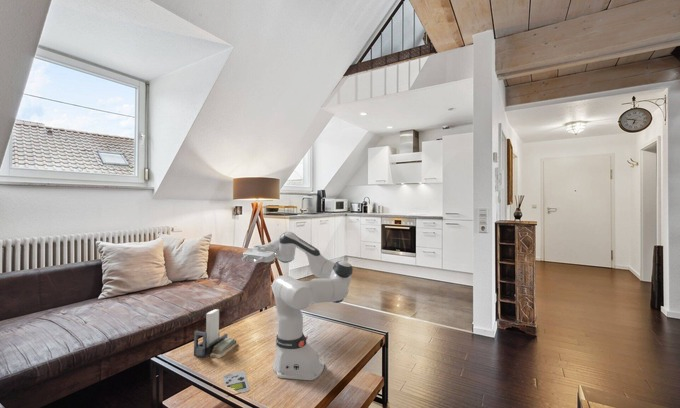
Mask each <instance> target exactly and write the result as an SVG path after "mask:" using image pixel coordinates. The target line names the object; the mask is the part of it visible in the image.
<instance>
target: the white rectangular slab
mask: <svg viewBox="0 0 680 408" xmlns="http://www.w3.org/2000/svg"><path fill="white" fill-rule="evenodd" d="M205 317H206V318H205V319H206V320H205V321H206V322H205V326H206V327H205V328H206V329H205V332H207V345H209V344H211V343H212V342H214V341H215V340H217V339H218V338H220V329H219V328H220V309H218V308H217V309H215V308H214V309H213V310H210V311H208V312H207V313H206V315H205Z"/></svg>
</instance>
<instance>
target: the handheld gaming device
mask: <svg viewBox="0 0 680 408" xmlns="http://www.w3.org/2000/svg"><path fill="white" fill-rule="evenodd" d="M222 382H223V385H224V384H225V385H226V386H227V387H231V388H235V389H234V390H235V391H238V392H239V391H240V392H241V393H240V394H243V393H247V392H249V391H250V386H249V382H248V379H247V375H246V373H245V370H238V371H235V372H228V373H226V374H223V375H222Z"/></svg>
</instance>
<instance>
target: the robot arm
mask: <svg viewBox="0 0 680 408" xmlns="http://www.w3.org/2000/svg"><path fill="white" fill-rule="evenodd" d="M296 248H297V249H298V250H299V251H302V252H303V253H304V254H305V255H306V257H307V260H308V266H309V267H308V268H309V271H310V272H311V274H312V275H314V277H317V278H312V279H310V280H307V281H305V280H299V279H296V278H294V277H292V276H290V275H283V274H282V275H279V276H277V277H275V278H274V280H273V281H272V284H271V291H272V292H273V295H274V303H275V308H276V313H277V314H276V315H277V334H276V338H275V339H276V343H275V344H276V352H275V358H274V363H273V366H272V368H273V371H274V372H275V373H276V377H277V378H279V379H290V380H301V381H314V380H316V379H317V378H319V377H320V376H321V374H322V373H323V371H324V369H325V363H324V361H322V360H320V357H319V353H318V351H317V350H316V349H315V348H313V346H312V345H310V344H309V343H308V342H307V340H308V338H309V337H308V335H305V334H304V331H303V330H304V329H303V328H304V316H303V313H302V311H303V310H305V309H307V308H309V306H310V305H313V304H321V303H334V304H335V303H336V304H339V303H342V302H343V301H344V299H346V297H348V294H349V286H350V283H351V280H352V275H353V272H354V271H353V269H354V268H353V266H352V264H351V263H349V262H347V261H342V260H337V261H336V262H334V261H332V260H329V259H328V258H326V257H325V256H323V255H322V253H321V252H320V250H319V249H318V248H317V247H315V246H313V245H312V244H310V243H309V242H307V241H305V240H303V239H301V238H300V237H299V236H298V235H296V234H295V233H294V232H292V231H285V232H283V233H281V235H280V236H279V238H275V239H273V240H271V241H270V242H268V243H265V244H261V245H254V246H253V247H252V248H249V249H248V250H245V251H243V253H242V258H241V262H243V263H244V262H246V261H248V260H249V261H253V263H254V264H258V263H259V264H260V263H263V262H264V263H271V262H273V260H275V259H277V260H278V261H279V262H281V263H283V264H288V263H291V262H293V261H294V259H295V255H296Z"/></svg>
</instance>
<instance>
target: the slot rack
mask: <svg viewBox="0 0 680 408" xmlns="http://www.w3.org/2000/svg"><path fill="white" fill-rule="evenodd" d="M193 333H194V334H193V335H194V336H193V356H195V357H200V358H206V357H208V356H210V354H211V353H212V351H213V349H214V346H216V345H217V344H218V343H220V342H221V341H223V340H224V339H226V338H227V337H228V334H227V333H224V334H223V335H221V336H219V338H218V339H217V340H215V341H214V342H212V343H211V344H209V345H207V332H206V331H201V330H195V331H194V332H193ZM199 336H202V341H201V342H200V343H199Z"/></svg>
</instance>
